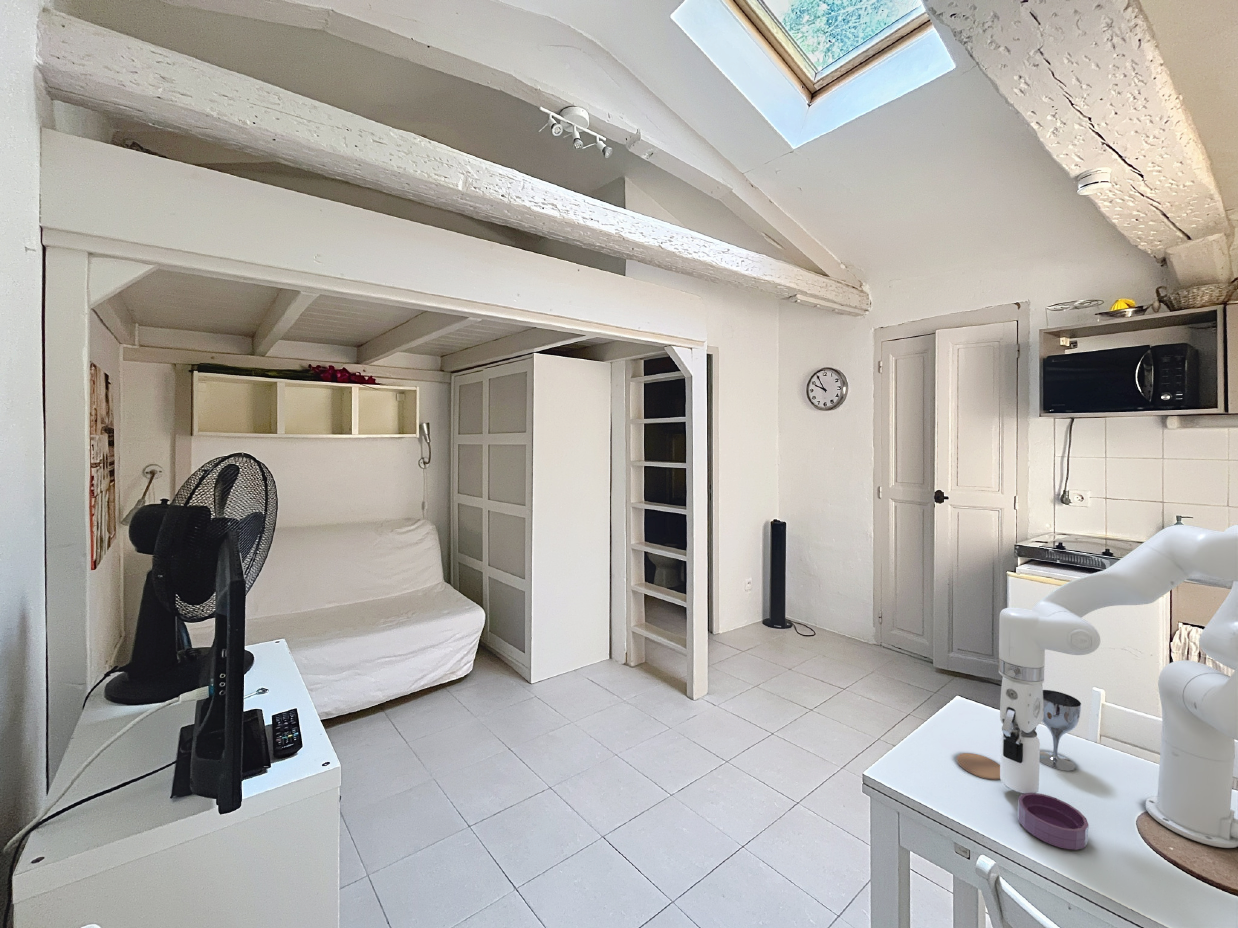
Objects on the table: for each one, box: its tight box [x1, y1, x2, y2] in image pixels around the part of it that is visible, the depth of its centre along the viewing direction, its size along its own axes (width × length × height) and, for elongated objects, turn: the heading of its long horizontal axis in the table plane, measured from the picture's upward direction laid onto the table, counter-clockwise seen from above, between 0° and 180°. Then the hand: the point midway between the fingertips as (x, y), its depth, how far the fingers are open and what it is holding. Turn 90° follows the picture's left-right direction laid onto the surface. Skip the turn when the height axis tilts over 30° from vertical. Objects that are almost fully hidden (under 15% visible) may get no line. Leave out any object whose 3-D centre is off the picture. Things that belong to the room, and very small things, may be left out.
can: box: [999, 723, 1041, 795], centre depth 109 cm, size 6×6×12 cm
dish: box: [1016, 792, 1090, 851], centre depth 100 cm, size 10×10×4 cm
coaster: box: [956, 752, 1001, 781], centre depth 119 cm, size 9×9×1 cm
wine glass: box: [1039, 689, 1082, 772], centre depth 121 cm, size 8×8×15 cm
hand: (1019, 752), depth 109 cm, fingers closed on can, 6 cm apart
